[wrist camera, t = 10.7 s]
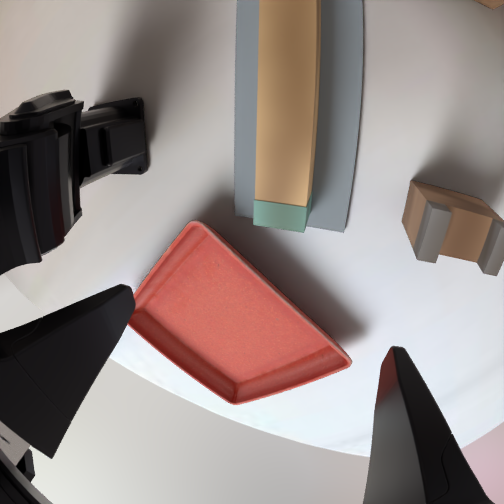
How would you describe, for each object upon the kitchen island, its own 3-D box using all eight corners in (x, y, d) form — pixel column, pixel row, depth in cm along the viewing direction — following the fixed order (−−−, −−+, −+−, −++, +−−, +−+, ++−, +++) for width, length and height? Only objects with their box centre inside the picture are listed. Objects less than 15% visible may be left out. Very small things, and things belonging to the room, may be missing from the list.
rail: (266, 206, 20) (253, 224, 17) (272, -70, 8) (260, -91, 6) (310, 213, 19) (304, 233, 16) (317, -71, 7) (311, -93, 5)
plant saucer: (357, 339, 24) (356, 366, 21) (241, 388, 34) (233, 407, 31) (213, 199, 22) (193, 215, 19) (133, 299, 32) (117, 316, 29)
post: (401, 221, 17) (416, 259, 13) (410, 180, 16) (432, 207, 11) (469, 236, 16) (496, 276, 12) (481, 199, 14) (514, 231, 10)
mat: (236, 213, 21) (234, 215, 21) (242, -72, 9) (240, -74, 8) (344, 230, 19) (343, 232, 19) (353, -73, 7) (353, -75, 6)
